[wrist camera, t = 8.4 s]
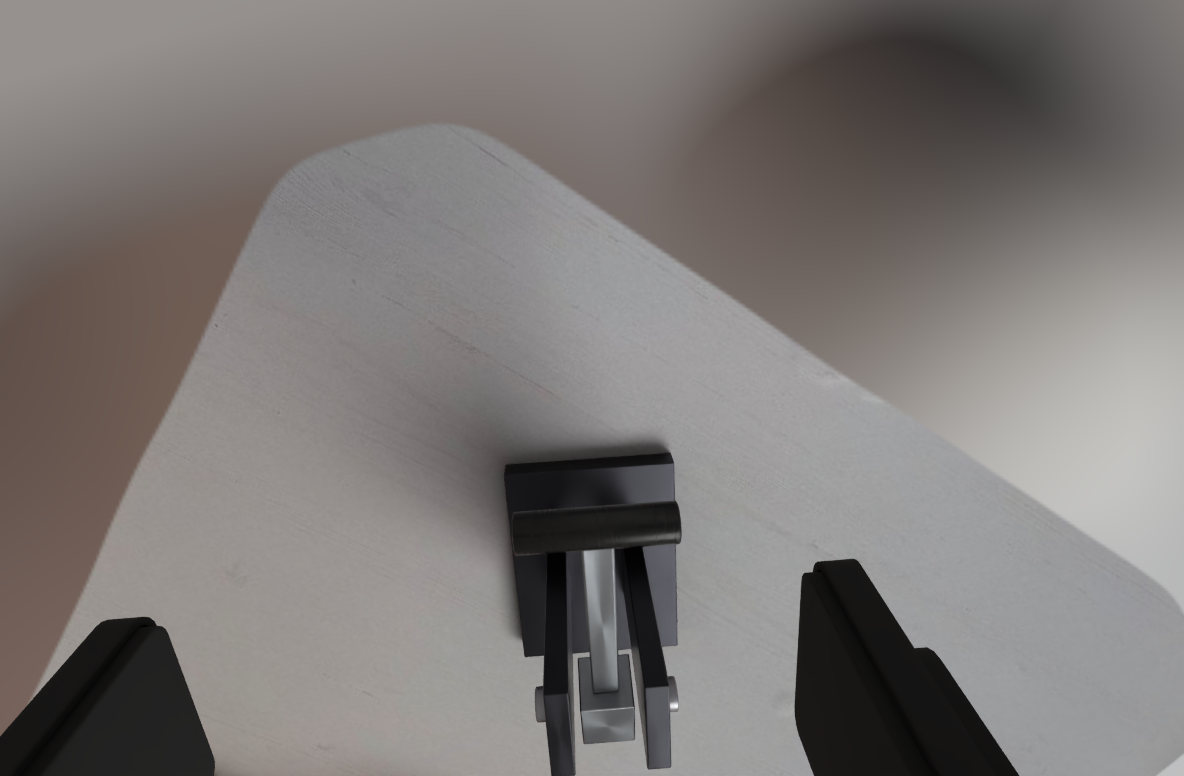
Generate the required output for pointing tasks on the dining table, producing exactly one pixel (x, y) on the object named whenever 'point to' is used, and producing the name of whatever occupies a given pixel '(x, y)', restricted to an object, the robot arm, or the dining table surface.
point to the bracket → (559, 595)
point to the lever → (600, 595)
